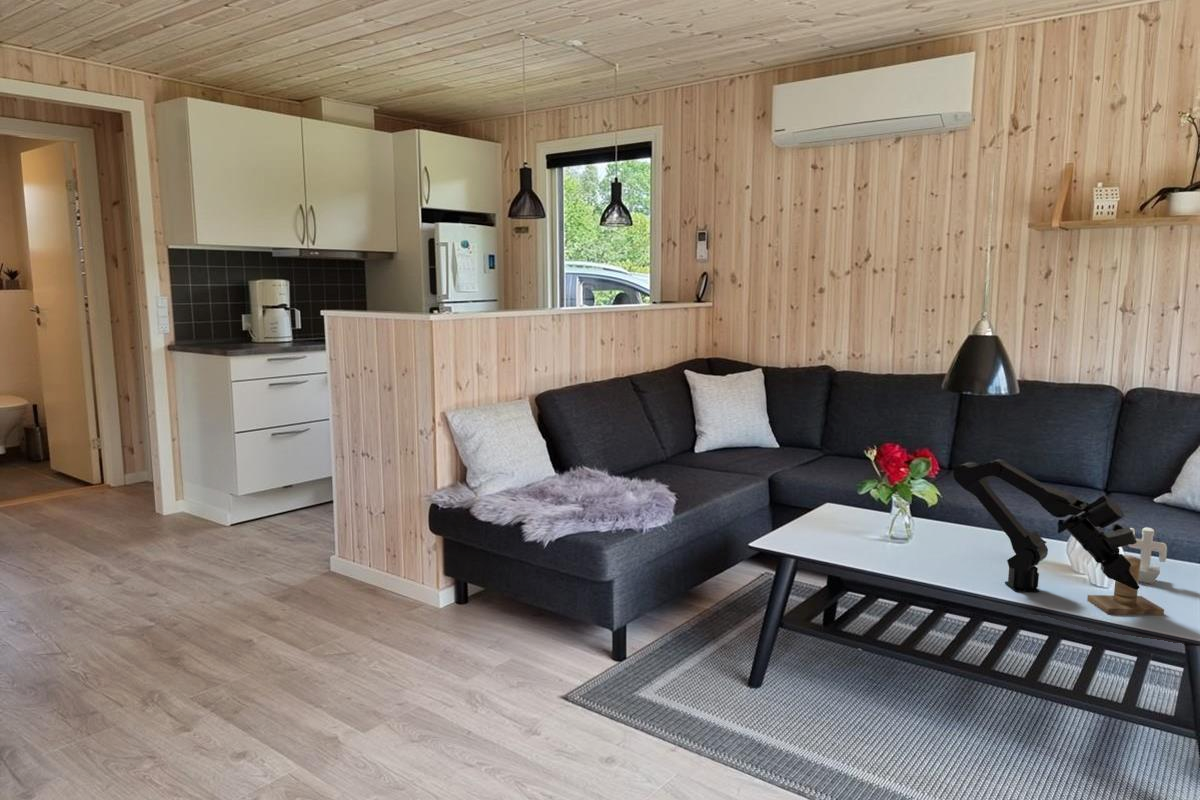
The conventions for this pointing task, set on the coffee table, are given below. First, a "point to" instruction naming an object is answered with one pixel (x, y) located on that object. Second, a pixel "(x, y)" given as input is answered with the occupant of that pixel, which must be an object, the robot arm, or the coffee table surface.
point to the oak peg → (1124, 592)
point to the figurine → (1149, 555)
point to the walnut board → (1125, 606)
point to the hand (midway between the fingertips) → (1133, 582)
